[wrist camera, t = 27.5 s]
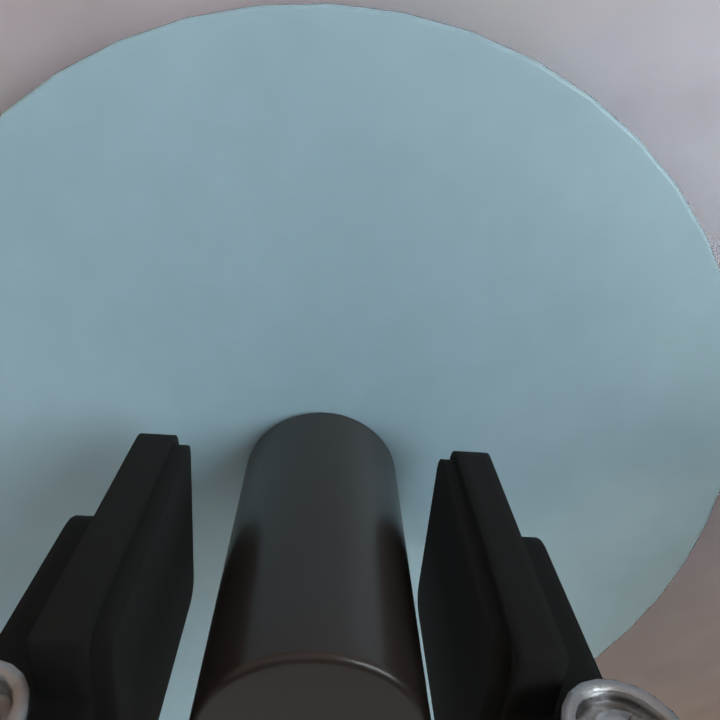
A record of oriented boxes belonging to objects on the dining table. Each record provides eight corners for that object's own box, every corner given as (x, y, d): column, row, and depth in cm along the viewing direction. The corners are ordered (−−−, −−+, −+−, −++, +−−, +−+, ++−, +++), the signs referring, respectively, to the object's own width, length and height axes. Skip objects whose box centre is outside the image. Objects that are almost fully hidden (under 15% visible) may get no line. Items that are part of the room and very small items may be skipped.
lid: (-209, 489, 13) (-655, 834, 7) (231, -257, 8) (0, -963, 3) (367, 782, 17) (382, 1146, 11) (859, 389, 12) (1294, 657, 7)
